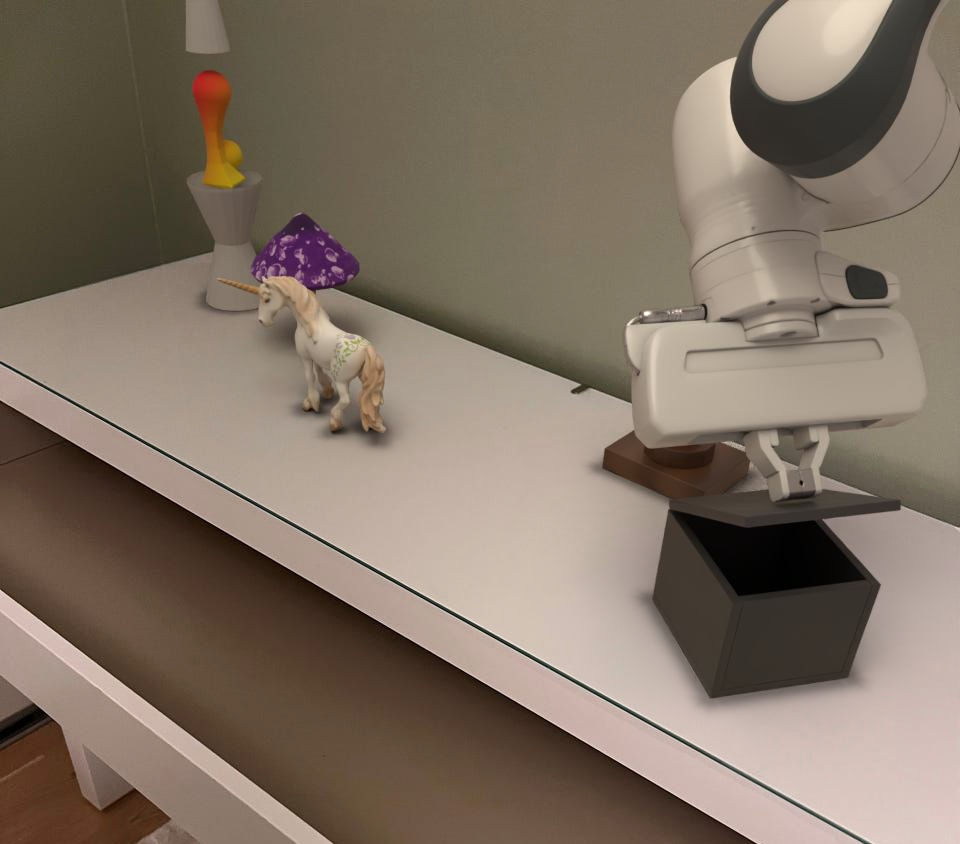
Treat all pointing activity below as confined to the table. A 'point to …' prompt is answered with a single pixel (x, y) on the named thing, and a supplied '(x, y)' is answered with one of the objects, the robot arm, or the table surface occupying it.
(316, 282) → the decorative mushroom
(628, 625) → the table surface
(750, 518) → the lid
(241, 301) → the lava lamp
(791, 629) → the dark grey cubic box
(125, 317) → the table surface
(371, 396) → the unicorn figurine
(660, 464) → the console
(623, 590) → the table surface
